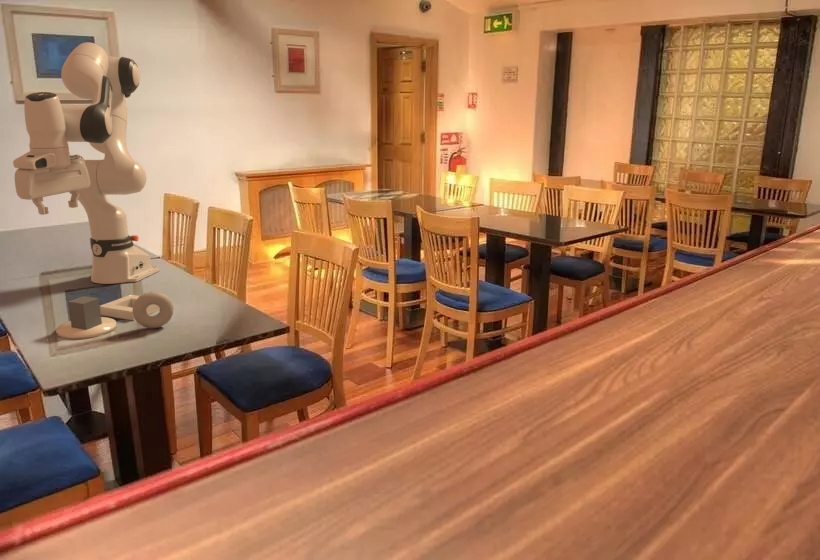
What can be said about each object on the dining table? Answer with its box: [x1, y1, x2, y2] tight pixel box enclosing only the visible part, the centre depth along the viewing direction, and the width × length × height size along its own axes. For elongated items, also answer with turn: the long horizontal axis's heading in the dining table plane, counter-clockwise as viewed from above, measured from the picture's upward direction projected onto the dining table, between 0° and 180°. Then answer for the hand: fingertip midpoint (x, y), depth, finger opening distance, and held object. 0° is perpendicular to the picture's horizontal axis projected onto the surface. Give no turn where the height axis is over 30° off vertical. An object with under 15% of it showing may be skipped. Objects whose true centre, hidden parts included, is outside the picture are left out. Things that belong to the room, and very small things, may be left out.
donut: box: [132, 291, 174, 329], centre depth 166 cm, size 10×4×10 cm, turn 114°
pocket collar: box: [100, 294, 160, 321], centre depth 180 cm, size 12×12×2 cm
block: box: [67, 295, 102, 330], centre depth 164 cm, size 5×5×7 cm
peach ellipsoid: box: [55, 316, 117, 340], centre depth 165 cm, size 14×14×1 cm
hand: (59, 210), depth 169 cm, fingers open, 8 cm apart
